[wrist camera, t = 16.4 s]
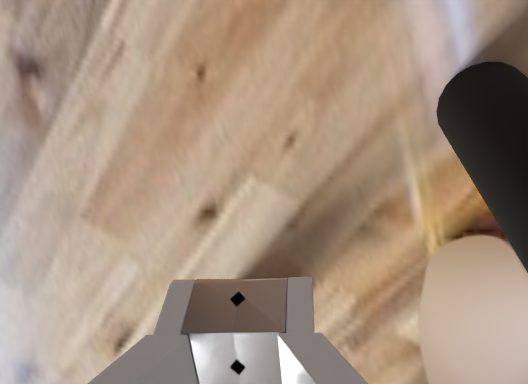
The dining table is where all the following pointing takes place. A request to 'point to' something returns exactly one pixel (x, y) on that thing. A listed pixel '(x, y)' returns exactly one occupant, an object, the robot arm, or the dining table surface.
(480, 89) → the wine bottle
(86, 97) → the dining table surface
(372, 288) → the dining table surface
